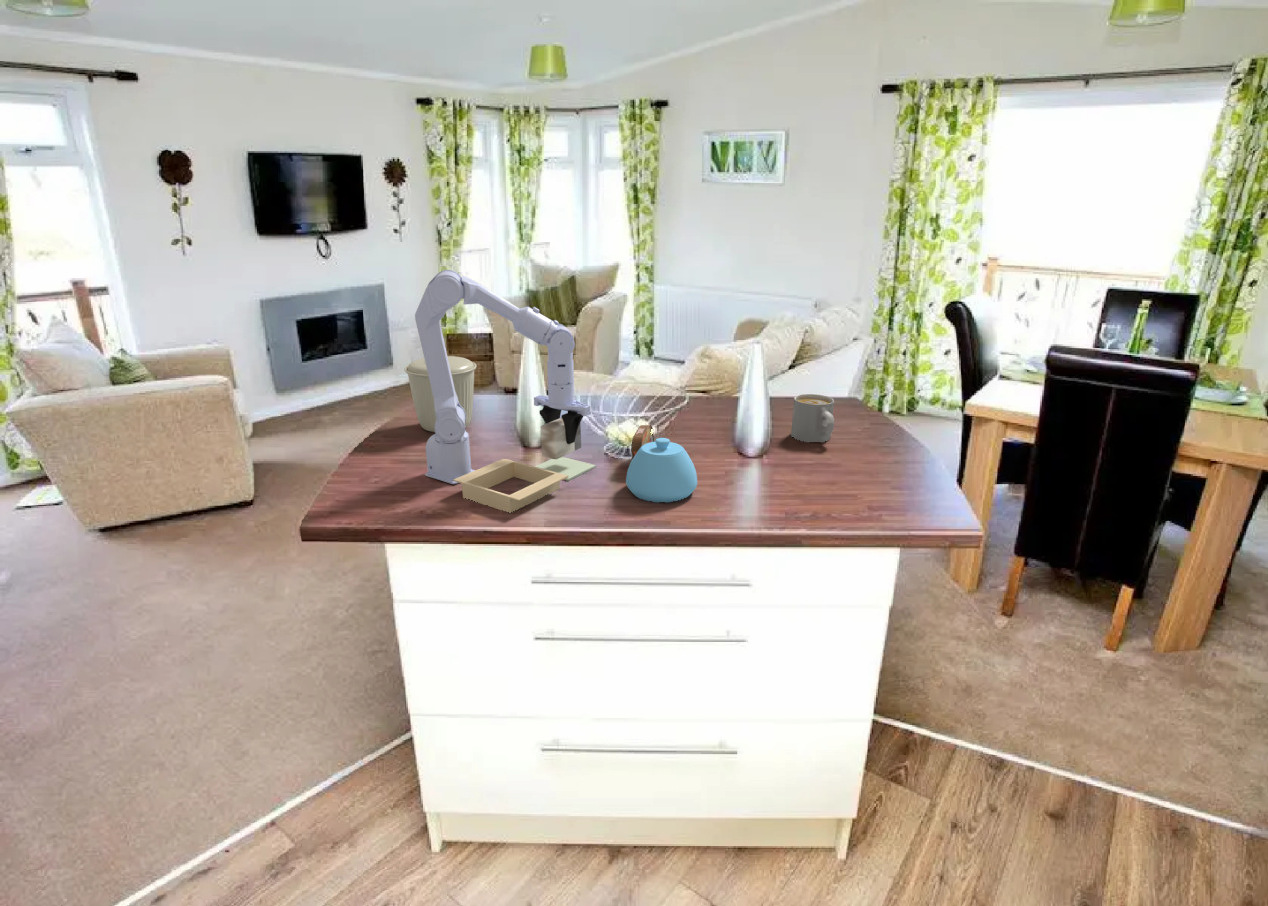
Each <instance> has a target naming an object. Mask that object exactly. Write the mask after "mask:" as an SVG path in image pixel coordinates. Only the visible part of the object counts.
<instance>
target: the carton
mask: <svg viewBox="0 0 1268 906" xmlns="http://www.w3.org/2000/svg"><path fill="white" fill-rule="evenodd" d="M474 470H475V469H474ZM568 477H569V476H568V475H564V474H560V473H556V472H553V471H549V470H545V469H542V468H538V467H535V466H534V465H529V464H527V463H524V462H519V461H515V460H511V459H508V458H502V459H499V460H498V461H494V462H492V463H490V464H488V465H485V466H482V467H481V468H478V469H476V470H475V471H473V472H470V473H468V474H466V475H463V476H461V477H458V478H456V479H453V481H455V482H458V483H457V484H461V491H462V498H463V499H465V498H466V499H465V500H468V499H470V500H469V501H471V500H473V501H472V502H474V501H475V502H474V503H477V502H478V503H477V504H480V505H484V506H486V505H488V506H487V507H490V508H493V509H496V510H499V511H502V510H503V512H505V511H506V513H508V512H509V513H508V514H512V513H514V512H516V511H517V510H520V509H521V508H524V507H526V506H528V505H530V504H532V503H534V502H536V501H538V500H540V499H541V498H544V497H546V496H548V495H550V494H552V493H554V492H556V491H558V490H560V489H561V485H560V482H561V481H565V480H564V479H566V478H568ZM512 478H518V479H520V480H523V481H527V482H530V483H532V484H530V485H528V486H525V487H524V488H522V489H519V490H517V491H515V492H513V493H511V494H506V493H503V492H500V491H496V490H493V489H491V487H494V486H496V485H498V484H499V485H500V483H503V482H505V481H507V480H509V479H512ZM547 494H548V495H547ZM545 495H546V496H545ZM537 499H538V500H537ZM525 505H526V506H525ZM515 510H516V511H515ZM513 511H514V512H513ZM511 512H512V513H511Z"/></svg>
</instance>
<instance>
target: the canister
mask: <svg viewBox="0 0 1268 906" xmlns="http://www.w3.org/2000/svg"><path fill="white" fill-rule="evenodd" d="M447 357H448V361H449V366H450V370H451V375H452V379H453V384H454V388H455V392H456V395H457V397H458V401H459V404H460V405H461V407H462V408H463V409H464V411H465V413H466V421H465V429H466V428H467V427H468V426H469V425H470V423H471V421H472V417H473V406H474V385H475V383H474V382H475V370H476V369H477V363H475V362H473V361H471V360H470V359H467V358H466V357H461V356H454V355H447ZM404 372H405V373H406V374H407V377H408V378H407V379H408V382H409V387H410V392H411V397H412V401H413V404H414V409H415V414H416V416H417V417H416V418H417V420H418V423H419V425H420V427H421V428H422V429H424V430H426V431H427V432H431V433H435V428H434V427H435V422H436V413H435V405H434V397H433V393H432V389H431V384H430V380H429V376H428V371H427V367H426V363H425V359H424V357H423V358H419V359H416V360H414V361H411V362H410V364H408V365H406V366H405V367H404Z"/></svg>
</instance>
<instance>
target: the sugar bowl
mask: <svg viewBox="0 0 1268 906" xmlns="http://www.w3.org/2000/svg"><path fill="white" fill-rule="evenodd" d="M654 439H655V438H654ZM625 477H626V478H625V484H626V487H627V488H628V489H629V491H630V492H631V494H633V495H634V496H635V497H637V498H638V499H640V500H642V499H643V501H646V502H650V501H652V502H651V503H659V502H665V503H672V502H673V501H675V502H679V501H682V500H684V498H685V499H686V498H688V497H690V495H691V494H692V493H693V492H694V491H695V490H696V488H697V487H698V475H697V470H696V468H695V465H694V463H693V461H692V459H691V457H690V455H689V454H688V452H687V451H686V450H685V448H684V447H683V446H682V445H681V444H679V443H677V442H672V441H671V439H669V438H666V437H659V438H656V439H655V440H654V442H650V443H647V444H644V445H643V446H642V447H641V448H640V449H639V450H638V452H637V453H636V455H635V456H634V458H633V459H632V458H631V461H630V464H629V465H628V468H627V472H626V476H625ZM681 499H682V500H681ZM678 500H679V501H678Z"/></svg>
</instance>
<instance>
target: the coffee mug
mask: <svg viewBox="0 0 1268 906" xmlns="http://www.w3.org/2000/svg"><path fill="white" fill-rule="evenodd" d="M834 405H835V400H834V398H832V397H830V396H827V395H823V394H817V393H804V394H799V395H796V396H794V397H793V406H792V418H791V420H792V421H791V433H790V437H791V438H792V437H794V438H795V439H794V438H793V439H794V440H796V439H797V440H796V441H799V440H800V442H803V441H804V442H803V443H809V442H821V443H826V442H828V440H829V441H830V440H831V437H832V436H831V435H832V434H833V431H834V428H835V418H834V408H835V406H834ZM825 441H826V442H825Z"/></svg>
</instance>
